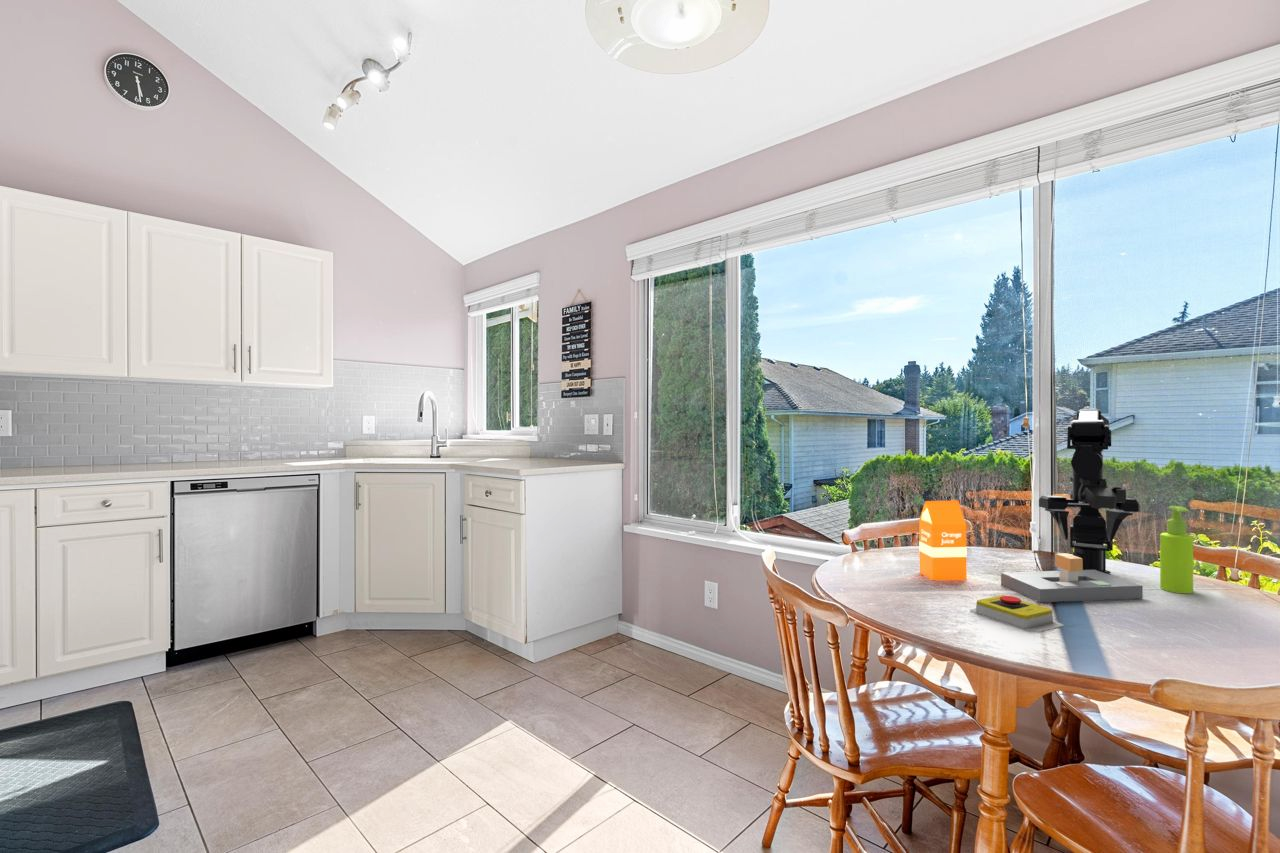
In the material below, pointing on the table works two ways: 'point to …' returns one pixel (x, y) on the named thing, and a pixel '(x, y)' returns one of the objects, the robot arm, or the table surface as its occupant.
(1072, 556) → the lever
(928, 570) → the orange juice
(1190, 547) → the soap dispenser
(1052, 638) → the table surface
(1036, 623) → the emergency button
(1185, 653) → the table surface
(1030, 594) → the breaker box
